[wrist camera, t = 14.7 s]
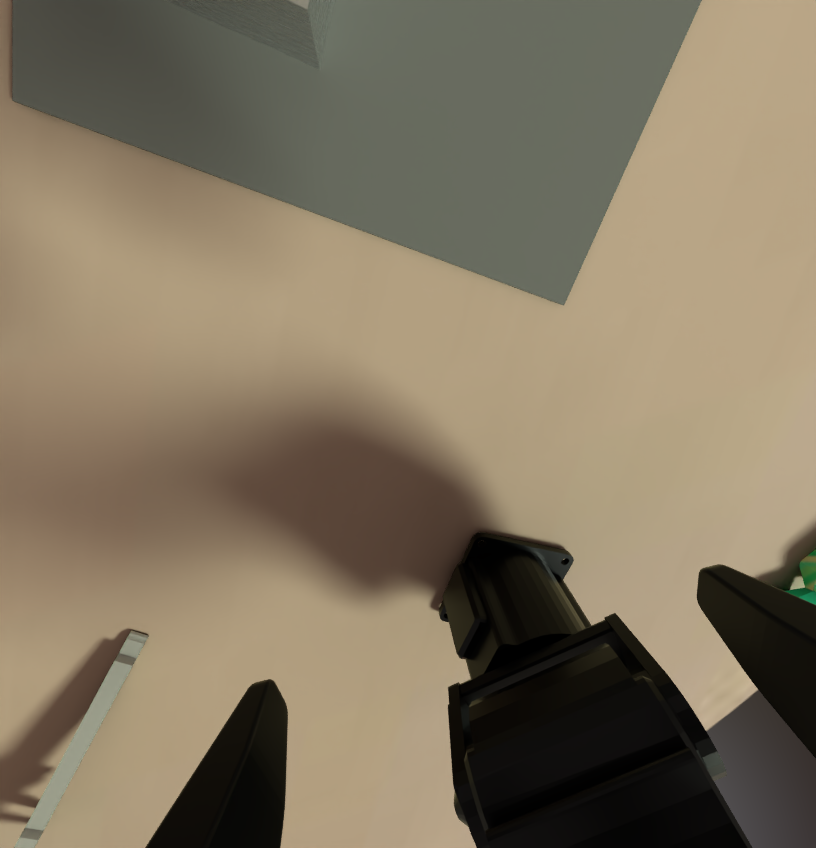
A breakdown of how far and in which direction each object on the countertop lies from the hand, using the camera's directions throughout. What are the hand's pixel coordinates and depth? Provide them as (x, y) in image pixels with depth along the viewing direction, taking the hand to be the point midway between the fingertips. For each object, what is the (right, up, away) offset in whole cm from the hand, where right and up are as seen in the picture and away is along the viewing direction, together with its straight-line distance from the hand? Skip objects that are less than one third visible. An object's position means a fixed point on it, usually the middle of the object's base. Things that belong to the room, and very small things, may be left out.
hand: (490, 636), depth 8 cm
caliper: (-22, -16, +18) cm, 33 cm away
